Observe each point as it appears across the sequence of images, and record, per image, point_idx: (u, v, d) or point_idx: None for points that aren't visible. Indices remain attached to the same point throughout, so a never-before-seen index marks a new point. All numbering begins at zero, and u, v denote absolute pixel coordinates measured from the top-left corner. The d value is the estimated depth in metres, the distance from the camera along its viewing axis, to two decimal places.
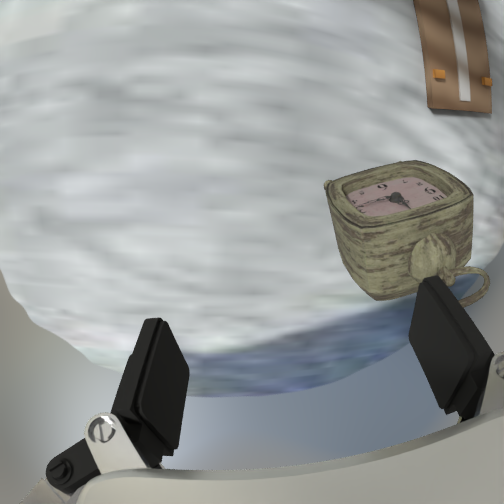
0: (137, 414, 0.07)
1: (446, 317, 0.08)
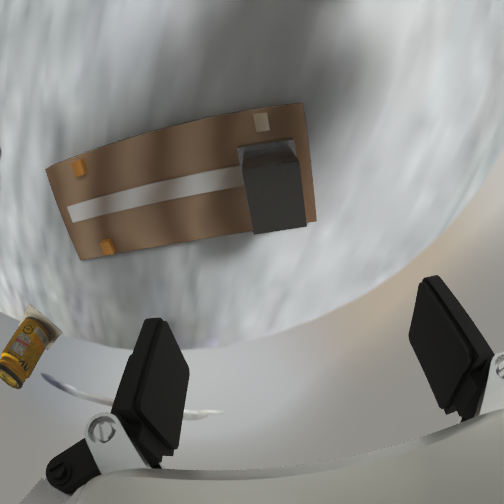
0: (137, 414, 0.07)
1: (446, 317, 0.08)
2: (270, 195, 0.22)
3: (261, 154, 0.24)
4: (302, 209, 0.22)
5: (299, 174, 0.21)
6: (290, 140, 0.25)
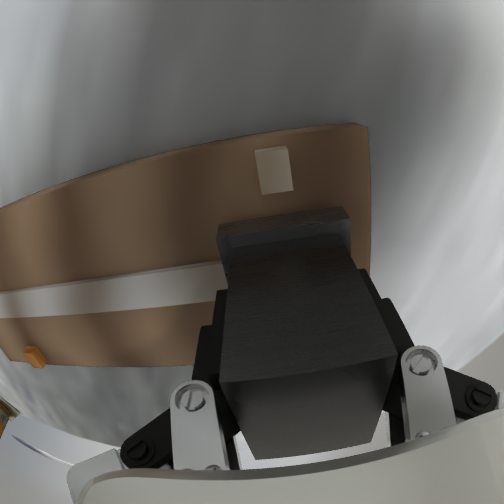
0: None
1: None
2: (299, 419, 0.07)
3: (275, 269, 0.10)
4: (371, 426, 0.08)
5: (387, 378, 0.06)
6: (341, 219, 0.11)
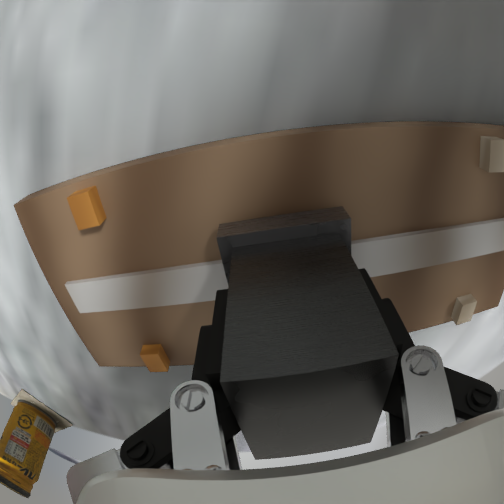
0: None
1: None
2: (300, 419, 0.07)
3: (276, 269, 0.10)
4: (371, 426, 0.08)
5: (388, 378, 0.06)
6: (342, 219, 0.11)
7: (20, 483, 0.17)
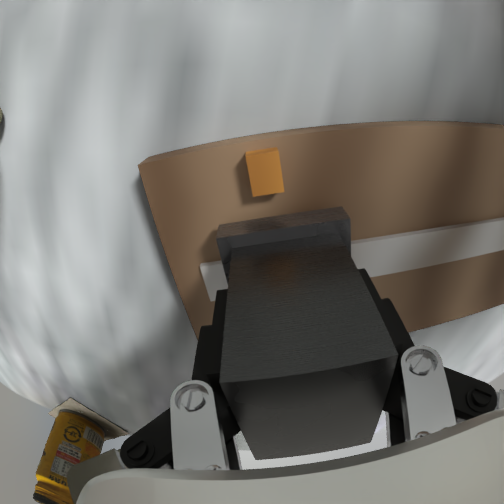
0: None
1: None
2: (300, 419, 0.07)
3: (275, 270, 0.10)
4: (371, 426, 0.08)
5: (388, 379, 0.06)
6: (341, 219, 0.11)
7: None
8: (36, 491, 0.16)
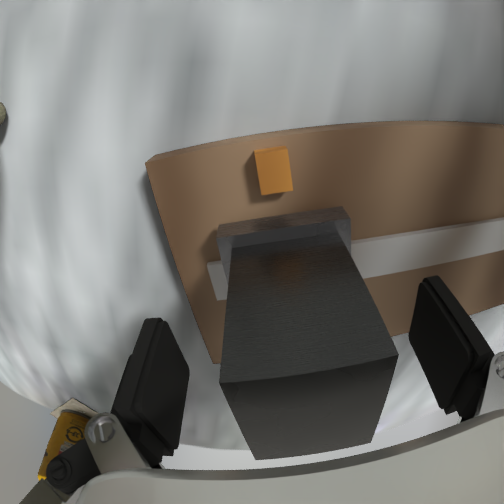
0: (137, 414, 0.07)
1: (446, 317, 0.08)
2: (300, 419, 0.07)
3: (276, 270, 0.10)
4: (371, 427, 0.08)
5: (388, 379, 0.06)
6: (342, 219, 0.11)
7: None
8: None
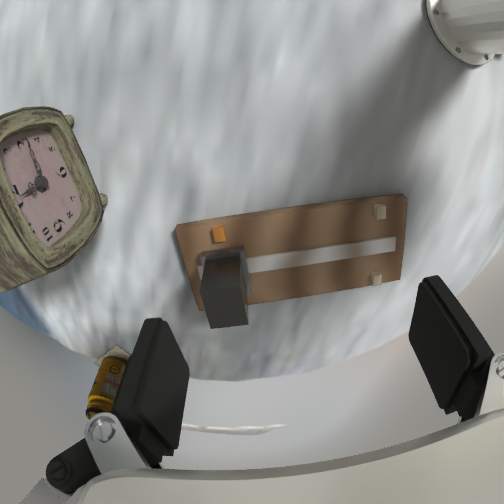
0: (137, 414, 0.07)
1: (446, 317, 0.08)
2: (220, 306, 0.30)
3: (217, 266, 0.33)
4: (244, 314, 0.31)
5: (240, 293, 0.30)
6: (241, 250, 0.34)
7: None
8: (89, 406, 0.38)
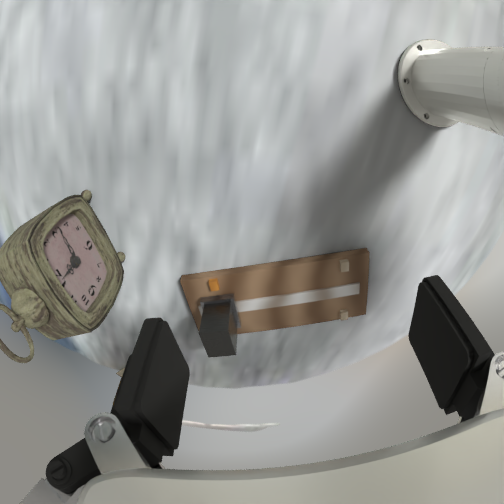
0: (137, 414, 0.07)
1: (446, 317, 0.08)
2: (214, 343, 0.40)
3: (212, 311, 0.43)
4: (232, 348, 0.41)
5: (229, 335, 0.40)
6: (231, 298, 0.44)
7: None
8: None
